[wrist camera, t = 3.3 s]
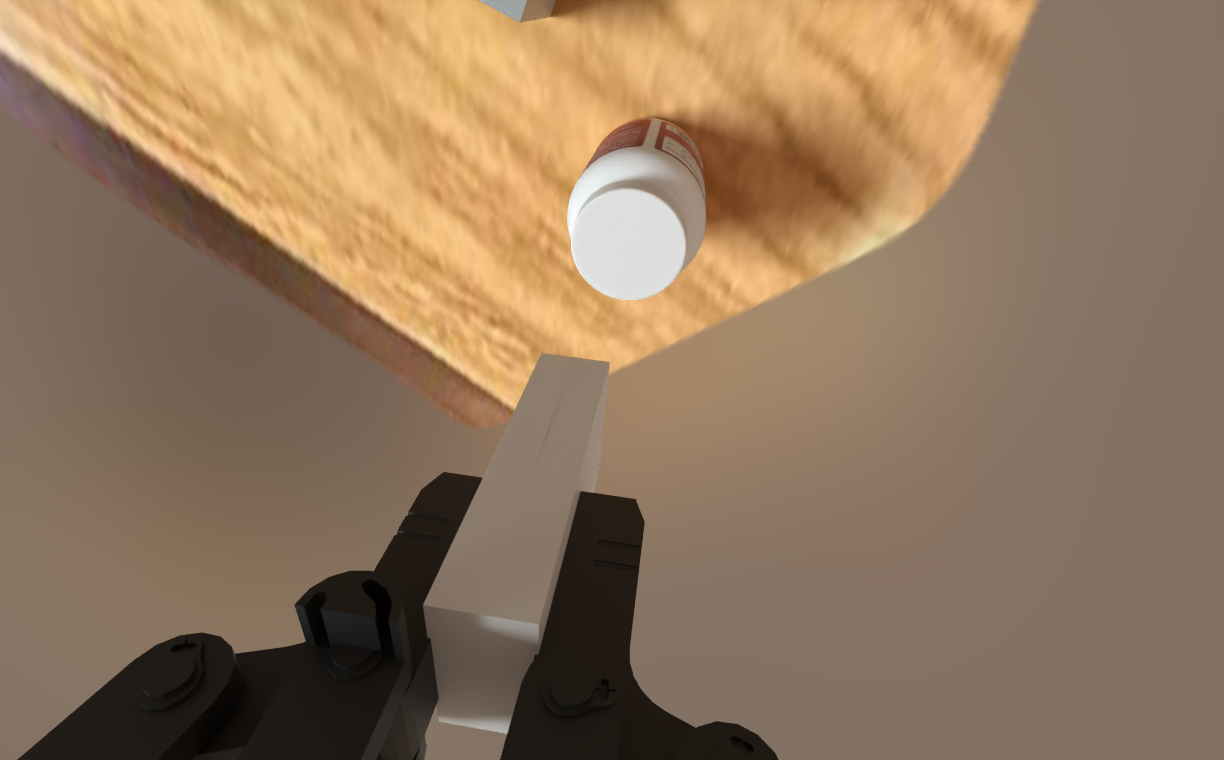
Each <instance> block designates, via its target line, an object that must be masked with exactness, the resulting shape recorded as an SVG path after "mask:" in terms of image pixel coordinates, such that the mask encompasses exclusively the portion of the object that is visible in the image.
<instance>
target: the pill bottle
mask: <svg viewBox="0 0 1224 760" xmlns="http://www.w3.org/2000/svg"><path fill="white" fill-rule="evenodd" d="M567 223H568V230H569V235H570V238H571V250H572V255H573V259H574V262H575V264H576V266H577V268H578V270H579V272H580V273H581V275H582V276H583V278H584V279H585V280H586V281H587V282H588V283H589V284H590V285H591V286H593V287H594V288H595V289H596V290H598V291H600V292H601V293H603V294H605V295H608V296H610V297H613V298H616V299H622V300H639V299H645V298H648V297H651V296H654V295H656V294H657V293H659V292H661V291H663V290H664V289H665V288H667V287H668V286H669V285H670V284H671V283H672V282H673V281H674V280H675V279H676V277H677V276H678V275H679V273H680V272H681V271H683V270H684V269H685V268H686V267H687V266H688V265H689V263H690V262H691V261H692V260H693V258H694V257H695V255H696V254H697V252H698V250H699V248H700V246H701V243H702V240H703V237H704V233H705V227H706V198H705V171H704V165H703V160H702V157H701V154H700V152H699V150H698V148H697V146H696V144H695V143H694V141H693V140H692V139H691V137H690V136H689V135H688V134H687V133H686V132H685V131H683V130H682V129H681V128H679V127H678V126H676V125H675V124H673V123H670V122H668V121H665V120H661V119H656V118H642V119H636V120H633V121H630V122H627V123H625V124H623V125H621V126H619V127H617V128H616V129H614V130H613V131H612V132H611V133H610V134H609V135H608V136H607V137H606V138H605V139H604V140H603V141H602V142H601V144H600V145H599V147H598V148H597V150H596V152H595V153H594V155H593V157H592V158H591V160H590V161H589V163H588V165H587V166H586V168H585V170H584V171H583V173H582V174H581V176H580V177H579V179H578V181H577V183H576V185H575V187H574V189H573V192H572V194H571V197H570V201H569V205H568V214H567Z"/></svg>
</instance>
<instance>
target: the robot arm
mask: <svg viewBox="0 0 1224 760" xmlns="http://www.w3.org/2000/svg"><path fill="white" fill-rule="evenodd" d="M609 363H610V362H605V361H597V360H590V359H582V358H575V357H568V356H560V355H553V354H545V353H541V356H540V358H539V360H538V362H537V364H536V366H535V368H534V370H533V373H532V375H531V377H530V379H529V381H528V383H527V385H526V387H525V390H524V392H523V394H522V396H521V398H520V400H519V402H518V404H517V406H516V409H515V411H514V413H513V415H512V417H511V419H510V421H509V423H508V426H507V428H506V430H505V432H504V434H503V436H502V438H501V441H500V443H499V445H498V447H497V449H496V451H495V453H494V455H493V457H492V460H491V462H490V464H489V466H488V468H487V470H486V472H485V474H484V477H483V478H480V477H474V476H467V475H460V474H454V473H447V472H443V473H442V474H441V475H439V476H438V477H437V478H436V479H434V480H433V481H432V482H430V483H429V484H428V485H427V486H425V487H424V488H423V489H422V490H421V491H420V493H419V495H418V497H417V498H416V500H415V502H414V503H413V505H412V507H411V508H410V510H409V512H408V516H406V517H405V519H404V520H403V522H402V524H401V526H400V527H399V529H398V533H397V535H395V536H394V537H393V539H392V541H391V543H390V544H389V546H388V548H387V549H386V551H385V553H384V554H383V556H382V558H381V560H380V561H379V563H378V565H377V566H376V568H375V570H374V571H348V572H345V573H341V574H338V575H335V576H331V577H328V578H327V579H325V580H323V581H322V582H320V583H318V584H317V585H315V586H313V587H312V588H310V589H309V590H308V591H307V592H306V593H305V594H304V595H303V596H302V597H301V598H300V599H299V600H298V602H297V603H296V604H295V608H296V611H297V614H298V617H299V620H300V624H301V627H302V630H303V633H304V636H305V640H306V642H304V643H300V644H296V645H292V646H287V647H282V648H275V649H267V650H260V651H253V652H245V653H238V654H235V653H234V651H233V649H232V647H231V646H230V645H229V644H228V643H227V642H226V641H225V640H224V639H223V638H221V637H220V636H216V635H211V634H207V633H195V634H187V635H180V636H178V637H175V638H173V639H170V640H168V641H165V642H163V643H160V644H158V645H156V646H154V647H153V648H151V649H150V650H148V651H147V652H145V653H144V654H142V655H141V656H140V657H138V658H136V659H135V660H134V661H132V662H131V663H130V664H129V665H128V666H127V667H125V668H124V669H123V670H122V671H121V672H120V673H118V674H117V675H116V676H115V677H114V678H113V679H111V680H110V681H109V682H108V683H107V684H105V685H104V686H103V687H102V688H101V689H100V690H98V691H97V692H96V693H95V694H94V695H93V696H91V697H90V698H89V699H88V700H87V701H86V702H84V703H83V704H82V705H81V706H80V707H79V708H77V709H76V710H75V711H74V712H73V713H71V714H70V715H69V716H68V717H67V718H66V719H64V720H63V721H62V722H61V723H60V724H59V725H58V726H56V727H55V728H54V729H53V730H52V731H50V732H49V733H48V734H47V735H46V736H45V737H43V738H42V739H41V740H40V741H39V742H38V743H36V744H35V745H34V746H33V747H32V748H31V749H29V750H28V751H27V752H26V753H25V754H24V755H22V756H21V757H20V758H19V759H18V760H424V758H425V752H426V741H425V732H426V730H427V727H428V725H429V722H430V720H431V717H432V714H433V712H434V709H435V706H436V704H437V710H438V717H439V721H440V722H445V723H451V724H456V725H462V726H467V727H473V728H478V729H484V730H490V731H496V732H501V733H506V734H507V737H506V740H505V744H504V748H503V751H502V755H501V759H500V760H778V758H777V756H776V754H775V752H774V751H773V750H772V749H771V748H770V747H769V746H768V745H767V744H766V743H765V742H764V741H763V740H762V739H761V738H760V737H759V736H758V735H757V734H755V733H753V732H751V731H749V730H748V729H745V728H744V727H742V726H740V725H738V724H732V723H724V722H718V721H716V722H713V723H709V724H706V725H703V726H699V727H697V728H695V727H693V726H691V725H689V724H688V723H686V722H684V721H682V720H680V719H679V718H677V717H675V716H673V715H671V714H669V713H668V712H666V711H664V710H663V709H661V708H660V707H659V706H657V705H656V704H654V703H653V702H652V701H651V700H650V699H649V698H648V697H647V696H646V695H645V694H644V693H643V691H642V690H641V689H640V687H639V685H638V683H637V681H636V680H635V678H634V676H633V672H632V669H631V665H630V649H629V648H630V641H631V631H632V623H633V615H634V607H635V599H636V590H637V582H638V573H639V565H640V556H641V548H642V540H643V531H644V519H643V517H642V514H641V512H640V509H639V507H638V504H637V502H636V499H631V498H624V497H618V496H611V495H604V494H598V493H593V492H594V487H595V483H596V479H597V474H598V470H599V465H600V461H601V453H602V442H603V431H604V420H605V408H606V396H607V386H608V375H609Z"/></svg>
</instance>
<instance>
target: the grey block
mask: <svg viewBox="0 0 1224 760" xmlns="http://www.w3.org/2000/svg"><path fill="white" fill-rule="evenodd" d="M479 1H481V2H482V3H484V4H486V5H488V6H490V7H492V8H494V9H495V10H497V11H499V12H501V13H503V14H505V15H507V16H508V17H510V18H512V19H514V20H516V21H518V22H525V21H531V20H536V19H542V18H547V17H551V14H552V11H553V8H554V6H555V3H556V0H479Z"/></svg>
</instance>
